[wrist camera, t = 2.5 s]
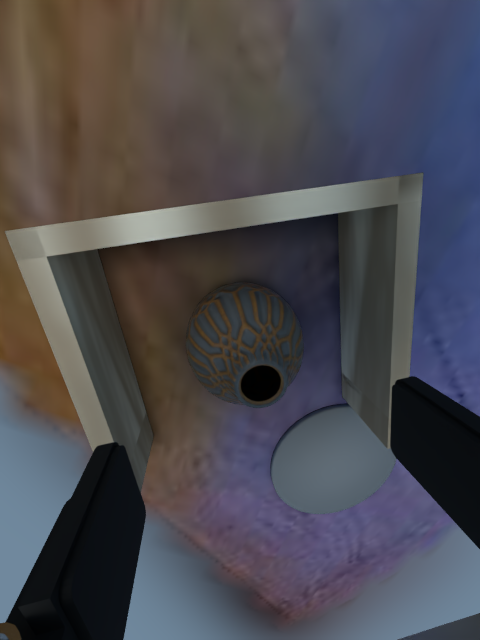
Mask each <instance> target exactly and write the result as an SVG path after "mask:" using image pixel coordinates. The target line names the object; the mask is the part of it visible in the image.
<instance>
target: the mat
mask: <svg viewBox="0 0 480 640" xmlns="http://www.w3.org/2000/svg"><path fill="white" fill-rule="evenodd" d="M395 462H396V457H395V456H394V454H393V453H392V450H391V448H390V449H387V448H386V447H385V446H384V444H383V443H382V442H381V441H380V440H379V439H378V437H377V436H376V435H375V434H374V433H373V432H372V431H371V429H370V428H369V427H368V426H367V425H366V424H365V422H364V421H363V420H362V419H361V418H360V417H359V415H358V414H357V413H356V412H355V411H354V410H353V409H352V407H351V406H350V405H349V404H339V405H332V406H328V407H325V408H321V409H319V410H316V411H314V412H312V413H310V414H308V415H306V416H305V417H303V418H302V419H300V420H298V421H297V422H296V423H295V424H294V425H292V426H291V427H290V428H289V429H288V430H287V431H286V432H285V434H284V435H283V436H282V438H281V439H280V440H279V442H278V444H277V446H276V448H275V450H274V452H273V455H272V459H271V467H270V469H271V477H272V481H273V485H274V488H275V490H276V492H277V494H278V495H279V497H280V498H281V499H282V500H283V501H284V502H285V503H286V504H288V505H289V506H291V507H292V508H294V509H296V510H299V511H302V512H306V513H313V514H326V513H333V512H338V511H342V510H345V509H348V508H350V507H353V506H355V505H357V504H359V503H360V502H362V501H364V500H365V499H367V498H368V497H370V496H371V495H372V494H373V493H375V492H376V491H377V490H378V489H379V488H380V487H381V486H382V484H383V483H384V482H385V481H386V479H387V478H388V477H389V475H390V473H391V471H392V470H393V467H394V465H395Z"/></svg>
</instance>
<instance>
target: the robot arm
mask: <svg viewBox="0 0 480 640" xmlns="http://www.w3.org/2000/svg"><path fill="white" fill-rule="evenodd" d="M390 447H391V450H392V453H393V454H394V456H395V457H396V458H397V459H398V460H399V461H400V463H401V464H402V465H403V466H404V467H405V468H406V469H407V470H408V471H409V472H410V473H411V475H412V476H413V477H414V478H415V479H416V480H417V481H418V482H419V483H420V484H421V485H422V487H423V488H424V489H425V490H426V491H427V492H428V493H429V494H430V495H431V496H432V498H433V499H434V500H435V501H436V502H437V503H438V504H439V505H440V506H441V507H442V508H443V510H444V511H445V512H446V513H447V514H448V515H449V516H450V517H451V518H452V519H453V520H454V522H455V523H456V524H457V525H458V526H459V527H460V528H461V529H462V530H463V531H464V533H465V534H466V535H467V536H468V537H469V538H470V539H471V540H472V541H473V542H474V543H475V545H476V546H477V547H478V548H479V549H480V417H479V416H478V415H476V414H474V413H473V412H471V411H470V410H468V409H466V408H465V407H463V406H462V405H460V404H458V403H457V402H455V401H454V400H452V399H450V398H449V397H447V396H446V395H444V394H442V393H441V392H439V391H438V390H436V389H434V388H433V387H431V386H430V385H428V384H426V383H425V382H423V381H422V380H420V379H418V378H417V377H414V376H411V377H407V378H402V379H398V380H396V382H395V385H393V386H392V398H391V434H390ZM145 517H146V510H145V505H144V502H143V499H142V496H141V493H140V490H139V487H138V484H137V481H136V478H135V475H134V472H133V469H132V466H131V463H130V460H129V457H128V454H127V451H126V448H125V446H124V445H121V446H119V444H118V443H117V442H112V443H108V444H103V445H99V446H97V447H96V448H95V450H94V452H93V454H92V456H91V458H90V460H89V462H88V464H87V466H86V468H85V470H84V472H83V475H82V477H81V479H80V481H79V483H78V485H77V487H76V489H75V491H74V493H73V495H72V497H71V499H69V500H68V501H67V502H66V504H65V505H64V507H63V509H62V511H61V513H60V515H59V517H58V519H57V521H56V523H55V525H54V527H53V529H52V531H51V533H50V535H49V537H48V539H47V541H46V543H45V545H44V547H43V549H42V551H41V553H40V555H39V557H38V559H37V561H36V563H35V565H34V567H33V569H32V571H31V573H30V575H29V577H28V579H27V581H26V583H25V585H24V587H23V589H22V591H21V593H20V595H19V597H18V599H17V601H16V603H15V605H14V607H13V609H12V611H11V613H10V615H9V617H8V619H7V621H6V622H5V623H0V640H123V638H124V632H125V627H126V621H127V616H128V610H129V605H130V600H131V594H132V588H133V583H134V578H135V573H136V567H137V562H138V556H139V550H140V545H141V540H142V535H143V529H144V524H145ZM398 640H480V613H479V614H476V615H473V616H469V617H466V618H463V619H460V620H457V621H454V622H451V623H447V624H444V625H441V626H438V627H435V628H432V629H429V630H426V631H423V632H420V633H417V634H414V635H411V636H407V637H404V638H402V639H398Z"/></svg>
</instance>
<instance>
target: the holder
mask: <svg viewBox="0 0 480 640" xmlns="http://www.w3.org/2000/svg"><path fill="white" fill-rule="evenodd" d="M422 185H423V173H417V174H410V175H402V176H395V177H388V178H381V179H374V180H367V181H360V182H353V183H345V184H338V185H331V186H324V187H317V188H310V189H303V190H296V191H288V192H281V193H274V194H267V195H260V196H253V197H246V198H238V199H231V200H224V201H217V202H210V203H203V204H196V205H189V206H181V207H174V208H167V209H160V210H153V211H146V212H139V213H132V214H124V215H117V216H110V217H103V218H96V219H89V220H82V221H74V222H67V223H60V224H53V225H46V226H39V227H32V228H25V229H17V230H10V231H5V233H6V236H7V238H8V241H9V243H10V246H11V248H12V251H13V253H14V256H15V258H16V261H17V263H18V266H19V268H20V271H21V273H22V276H23V278H24V281H25V283H26V286H27V288H28V291H29V293H30V296H31V298H32V301H33V303H34V306H35V308H36V311H37V313H38V316H39V318H40V321H41V323H42V326H43V328H44V331H45V333H46V336H47V338H48V341H49V343H50V346H51V348H52V351H53V353H54V356H55V358H56V361H57V363H58V366H59V368H60V371H61V373H62V376H63V378H64V381H65V383H66V386H67V388H68V391H69V393H70V396H71V398H72V401H73V403H74V406H75V408H76V411H77V413H78V416H79V418H80V421H81V423H82V426H83V428H84V431H85V433H86V436H87V438H88V441H89V443H90V446H91V448H92V451H93V452H94V450H95V448H96V447H97V446H99V445H103V444H108V443H112V442H117V443H118V444H119V446H121V445H124V446H125V448H126V451H127V454H128V457H129V460H130V463H131V466H132V469H133V472H134V475H135V478H136V481H137V484H138V487H139V490H140V493H141V489H142V485H143V480H144V476H145V472H146V467H147V463H148V458H149V454H150V450H151V445H152V441H153V437H154V436H153V432H152V429H151V426H150V423H149V419H148V416H147V413H146V409H145V406H144V403H143V399H142V396H141V393H140V389H139V386H138V383H137V379H136V376H135V373H134V370H133V366H132V363H131V360H130V356H129V353H128V350H127V346H126V343H125V340H124V336H123V333H122V330H121V327H120V323H119V320H118V317H117V313H116V310H115V307H114V303H113V300H112V297H111V293H110V290H109V287H108V283H107V280H106V277H105V274H104V270H103V267H102V264H101V260H100V257H99V254H98V250H97V249H100V248H107V247H114V246H120V245H127V244H134V243H140V242H147V241H154V240H161V239H167V238H174V237H181V236H187V235H194V234H201V233H207V232H214V231H221V230H227V229H234V228H241V227H247V226H254V225H261V224H267V223H274V222H281V221H288V220H294V219H301V218H308V217H314V216H321V215H328V214H334V213H338V239H339V282H340V326H341V369H342V397H343V398H344V399H345V400H346V402H347V403H348V404H349V405H350V406H351V407H352V409H353V410H354V411H355V412H356V413H357V414H358V415H359V417H360V418H361V419H362V420H363V421H364V422H365V424H366V425H367V426H368V427H369V428H370V429H371V431H372V432H373V433H374V434H375V435H376V436H377V437H378V439H379V440H380V441H381V442H382V443H383V444H384V446H385V447H386V448H387V449H390V448H391V447H390V434H391V398H392V386H393V385H395V382H396V380H398V379H402V378H407V377H409V374H410V360H411V345H412V330H413V316H414V301H415V287H416V272H417V258H418V243H419V228H420V214H421V199H422Z"/></svg>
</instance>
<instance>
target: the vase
mask: <svg viewBox="0 0 480 640" xmlns="http://www.w3.org/2000/svg"><path fill="white" fill-rule="evenodd" d="M186 351H187V356H188V360H189V363H190V366H191V368H192V370H193V372H194V374H195V375H196V377H197V378H198V380H199V381H200V382H201V384H202V385H203V386H204V387H205V388H206V389H207V390H208V391H209V392H211V393H212V394H213V395H215V396H216V397H218V398H220V399H222V400H224V401H227V402H230V403H234V404H240V405H247V406H249V407H253V408H263V407H267V406H270V405H272V404H274V403H276V402H277V401H278V400H279V399H280V398H281V397H282V396H283V395H284V393H285V391H286V389H287V387H288V386H289V385H290V384H291V383H292V381H293V380H294V378H295V377H296V375H297V373H298V371H299V369H300V366H301V363H302V358H303V351H304V343H303V335H302V330H301V326H300V323H299V321H298V319H297V317H296V315H295V313H294V311H293V310H292V308H291V307H290V306H289V304H288V303H287V302H286V301H285V300H284V299H283V298H282V297H280V296H279V295H278V294H276V293H275V292H273V291H272V290H270V289H268V288H266V287H263V286H261V285H257V284H253V283H244V282H241V283H232V284H228V285H225V286H222V287H220V288H217V289H216V290H214V291H212V292H211V293H209V294H208V295H207V296H206V297H205V298H203V299H202V301H201V302H200V303H199V304H198V305H197V307H196V308H195V310H194V312H193V314H192V316H191V318H190V321H189V324H188V328H187V333H186Z"/></svg>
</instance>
